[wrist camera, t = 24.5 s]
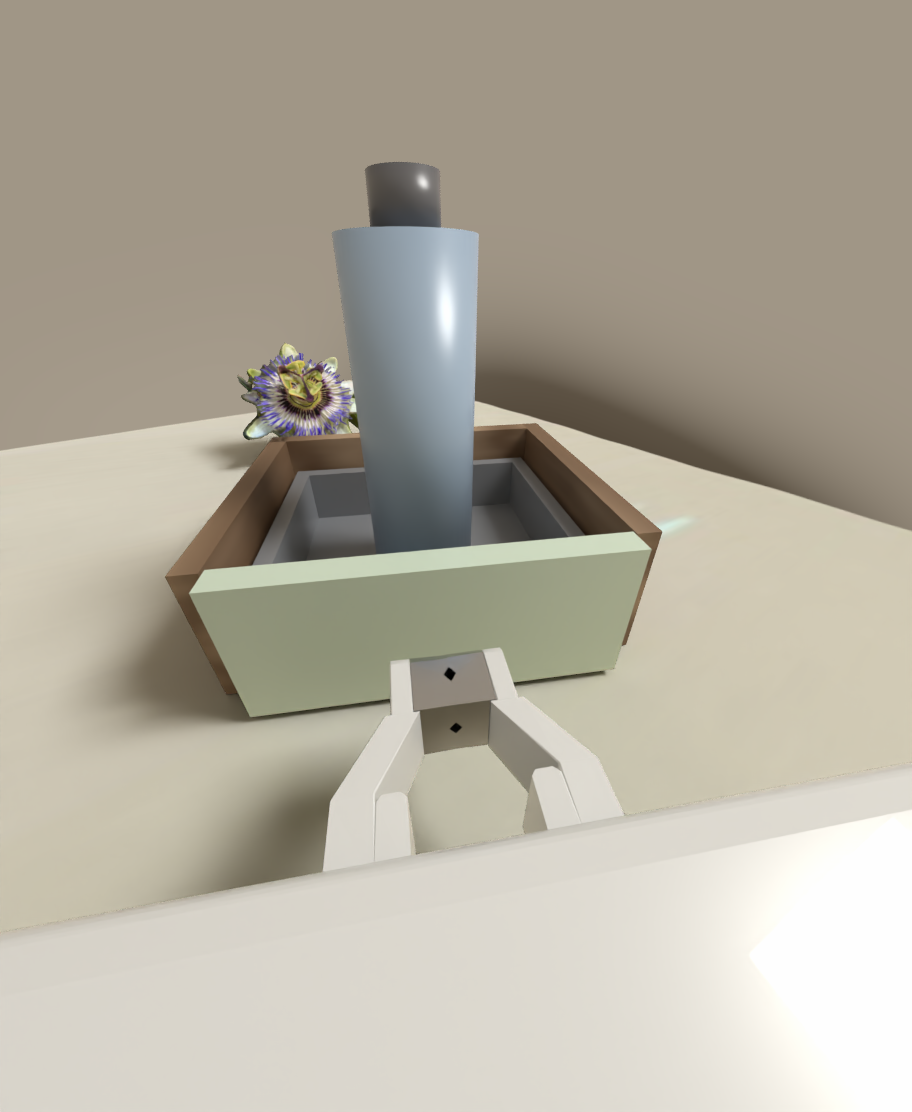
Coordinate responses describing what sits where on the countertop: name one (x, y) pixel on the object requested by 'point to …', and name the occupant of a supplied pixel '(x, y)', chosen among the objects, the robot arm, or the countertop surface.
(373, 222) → the lotion bottle
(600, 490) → the brown open box
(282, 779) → the countertop surface
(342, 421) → the passion flower
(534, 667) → the drawer
